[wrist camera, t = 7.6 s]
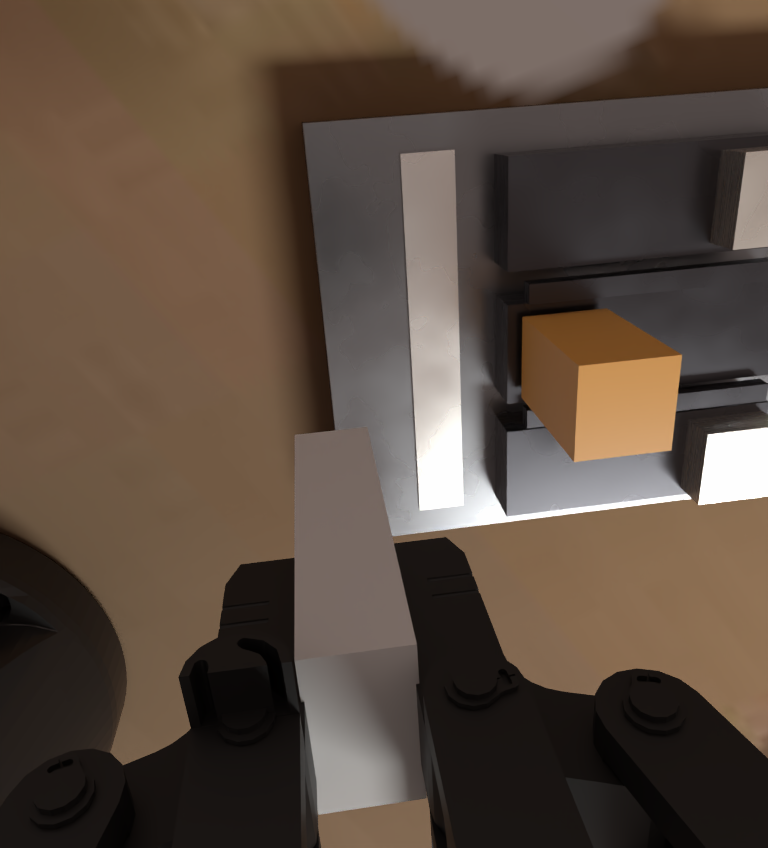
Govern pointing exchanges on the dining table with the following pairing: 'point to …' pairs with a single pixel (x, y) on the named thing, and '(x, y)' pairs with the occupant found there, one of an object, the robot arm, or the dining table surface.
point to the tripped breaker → (599, 383)
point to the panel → (542, 293)
